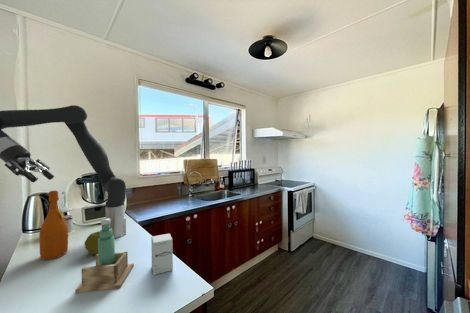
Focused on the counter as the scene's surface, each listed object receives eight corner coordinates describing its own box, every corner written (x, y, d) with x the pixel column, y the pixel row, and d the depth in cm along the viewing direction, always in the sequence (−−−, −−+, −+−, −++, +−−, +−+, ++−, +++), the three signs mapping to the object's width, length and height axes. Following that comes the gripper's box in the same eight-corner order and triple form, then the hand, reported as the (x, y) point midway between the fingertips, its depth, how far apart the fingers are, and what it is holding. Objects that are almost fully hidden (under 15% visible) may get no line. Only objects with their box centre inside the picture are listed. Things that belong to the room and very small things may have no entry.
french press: (65, 236, 115) (65, 192, 115) (45, 236, 115) (45, 193, 115) (79, 229, 125) (78, 189, 125) (60, 230, 125) (60, 190, 125)
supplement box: (153, 276, 76) (152, 242, 76) (151, 266, 82) (151, 236, 82) (173, 270, 79) (172, 238, 79) (170, 261, 86) (169, 232, 86)
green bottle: (111, 269, 79) (109, 216, 78) (118, 273, 76) (116, 218, 75) (96, 276, 74) (94, 220, 74) (103, 281, 71) (101, 222, 71)
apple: (107, 246, 102) (107, 224, 102) (112, 252, 95) (112, 229, 95) (83, 253, 95) (83, 230, 95) (86, 260, 88) (86, 235, 88)
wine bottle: (51, 261, 87) (50, 193, 87) (33, 259, 89) (32, 192, 89) (73, 251, 97) (72, 189, 96) (57, 249, 99) (56, 188, 98)
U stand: (133, 265, 83) (133, 249, 83) (120, 287, 69) (120, 267, 69) (96, 269, 81) (96, 252, 81) (75, 292, 67) (74, 272, 67)
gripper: (0, 143, 72) (37, 174, 74) (33, 145, 86) (63, 171, 88) (-17, 158, 71) (21, 189, 73) (18, 157, 85) (50, 183, 87)
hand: (44, 179), depth 80 cm, fingers open, 8 cm apart
